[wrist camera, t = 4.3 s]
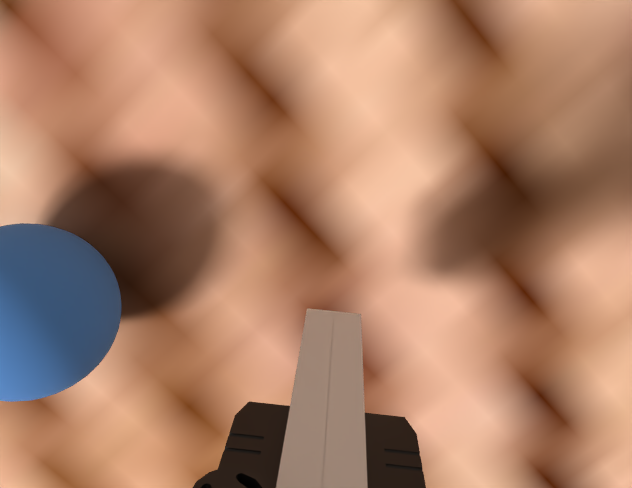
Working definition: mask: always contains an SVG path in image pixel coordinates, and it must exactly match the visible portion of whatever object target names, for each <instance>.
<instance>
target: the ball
mask: <svg viewBox="0 0 632 488" xmlns="http://www.w3.org/2000/svg"><path fill="white" fill-rule="evenodd" d="M121 307H122V304H121V295H120V290H119V286H118V282H117V280H116V277H115V275H114V273H113V271H112V269H111V267H110V266H109V264H108V263H107V261H106V260H105V258H104V257H103V256H102V255H101V254H100V253H99V252H98V251H97V250H96V249H95V248H94V247H93V246H92V245H90V244H89V243H88V242H86V241H85V240H83V239H82V238H80V237H78V236H76V235H75V234H73V233H70V232H68V231H65V230H62V229H59V228H56V227H52V226H48V225H41V224H12V225H6V226H1V227H0V401H28V400H34V399H40V398H43V397H47V396H50V395H53V394H56V393H58V392H61V391H63V390H65V389H67V388H69V387H71V386H73V385H74V384H76V383H77V382H79V381H80V380H81V379H83V378H84V377H86V376H87V375H88V374H89V373H90V372H91V371H92V370H93V369H94V368H95V367H96V366H97V365H98V364H99V363H100V362H101V361H102V359H103V358H104V357H105V355H106V354H107V353H108V351H109V349H110V348H111V346H112V344H113V342H114V340H115V337H116V334H117V332H118V329H119V324H120V318H121Z"/></svg>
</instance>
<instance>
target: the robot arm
mask: <svg viewBox="0 0 632 488" xmlns="http://www.w3.org/2000/svg"><path fill="white" fill-rule="evenodd" d="M419 454H420V452H419V446H418V440H417V434H416V433H415V431H414V430H413V428H412V427H411V426H410V424H409V423H408V421H407V420H406V419H405V417H398V416H389V415H380V414H371V413H365V408H364V382H363V356H362V330H361V314H356V313H346V312H336V311H327V310H317V309H307V312H306V318H305V324H304V329H303V335H302V341H301V347H300V352H299V358H298V364H297V370H296V375H295V381H294V387H293V393H292V398H291V404H290V406H284V405H275V404H266V403H257V402H248V403H247V404H246V405H245V406H244V407H243V408H242V409H241V410H240V411H239V412H238V413H237V414H236V415H235V418H234V421H233V424H232V427H231V430H230V434H229V436H228V440H227V443H226V446H225V451H224V452H223V455H222V458H221V461H220V464H219V467H218V470H215V471H212V472H209V473H208V474H206V475H205V476H204V477H202V478H201V479H199V480H198V481H197V482H196V483H195V485H194V487H193V488H426V486H425V480H424V475H423V472H422V463H421V457H420V455H419Z"/></svg>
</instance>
